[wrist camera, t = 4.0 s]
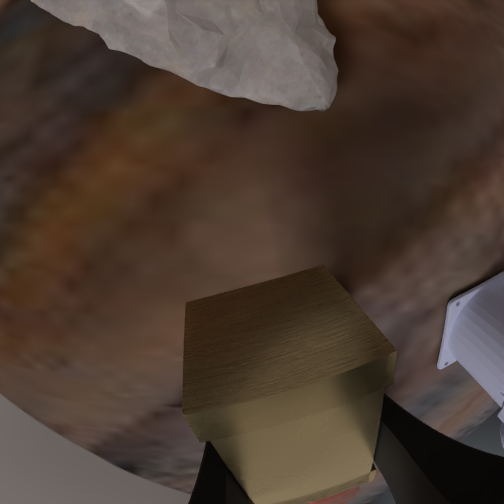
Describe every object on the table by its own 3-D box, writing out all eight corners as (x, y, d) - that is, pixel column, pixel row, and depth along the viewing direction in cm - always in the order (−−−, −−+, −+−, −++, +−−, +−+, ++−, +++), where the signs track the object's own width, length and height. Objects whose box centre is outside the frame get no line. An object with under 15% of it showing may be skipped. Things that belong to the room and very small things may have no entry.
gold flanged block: (323, 264, 11) (397, 351, 6) (335, 402, 14) (373, 479, 9) (185, 302, 11) (183, 415, 6) (240, 430, 14) (257, 515, 9)
